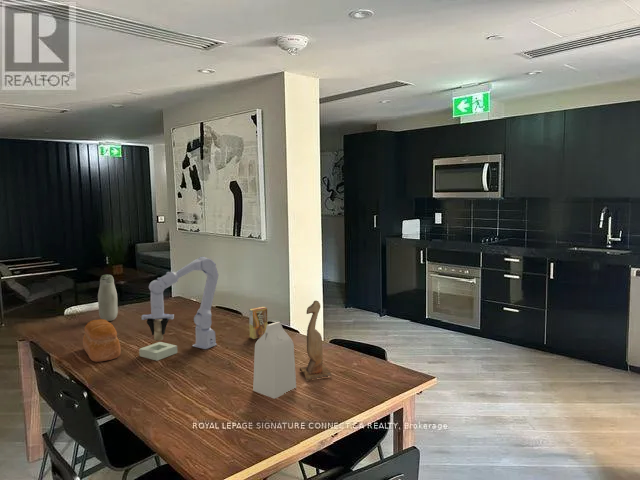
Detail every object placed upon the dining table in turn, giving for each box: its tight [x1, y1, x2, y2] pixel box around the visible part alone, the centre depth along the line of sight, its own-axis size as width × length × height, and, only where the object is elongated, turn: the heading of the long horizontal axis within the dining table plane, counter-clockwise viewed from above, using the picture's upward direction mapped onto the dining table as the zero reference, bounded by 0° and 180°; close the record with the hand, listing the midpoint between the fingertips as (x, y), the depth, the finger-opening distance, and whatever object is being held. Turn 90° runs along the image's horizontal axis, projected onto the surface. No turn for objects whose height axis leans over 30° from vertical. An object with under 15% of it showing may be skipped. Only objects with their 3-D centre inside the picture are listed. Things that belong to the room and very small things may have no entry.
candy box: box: [248, 306, 268, 340], centre depth 245 cm, size 9×4×15 cm, turn 129°
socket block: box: [138, 341, 178, 362], centre depth 219 cm, size 12×12×4 cm
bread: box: [82, 318, 122, 363], centre depth 221 cm, size 14×26×15 cm, turn 35°
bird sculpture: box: [299, 300, 332, 381], centre depth 191 cm, size 11×12×32 cm
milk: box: [252, 321, 297, 399], centre depth 178 cm, size 12×12×26 cm
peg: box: [153, 319, 164, 342], centre depth 220 cm, size 4×4×9 cm
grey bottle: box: [97, 274, 119, 322], centre depth 277 cm, size 10×10×28 cm
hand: (158, 334), depth 220 cm, fingers closed on peg, 4 cm apart
